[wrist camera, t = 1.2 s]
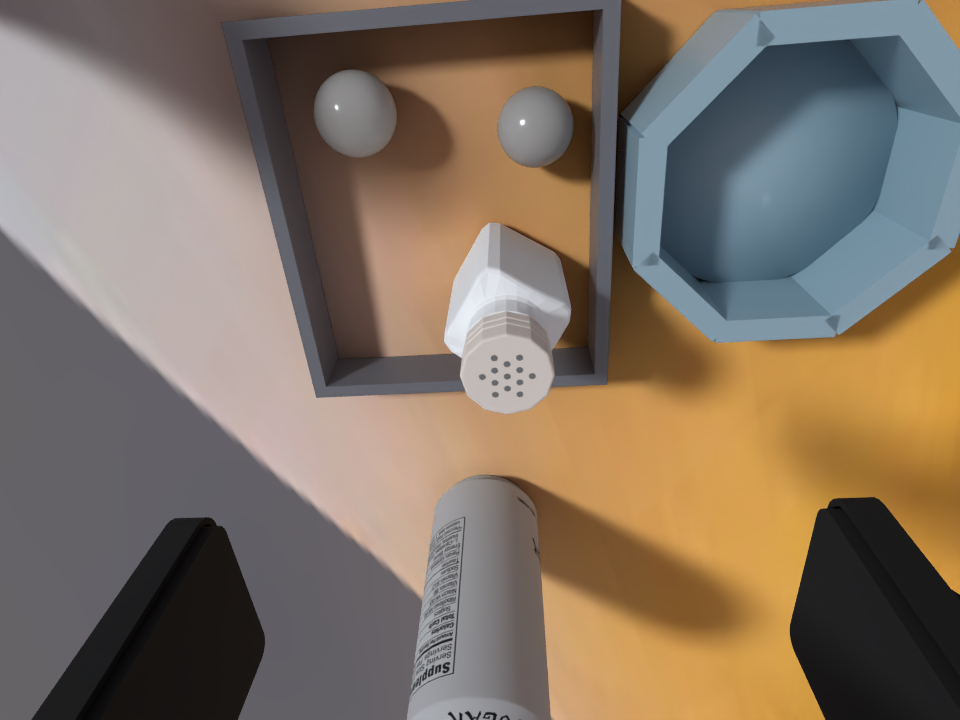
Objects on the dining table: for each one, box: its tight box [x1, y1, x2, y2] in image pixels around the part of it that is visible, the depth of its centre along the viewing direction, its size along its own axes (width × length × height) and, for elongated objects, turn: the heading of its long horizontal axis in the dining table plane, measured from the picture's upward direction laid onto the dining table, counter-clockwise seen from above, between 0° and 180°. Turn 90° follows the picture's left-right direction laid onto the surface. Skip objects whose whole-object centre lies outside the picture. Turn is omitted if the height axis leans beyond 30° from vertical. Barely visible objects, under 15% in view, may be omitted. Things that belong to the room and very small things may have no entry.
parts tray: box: [221, 0, 621, 398], centre depth 26 cm, size 16×14×3 cm
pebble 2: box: [497, 86, 574, 168], centre depth 24 cm, size 3×3×3 cm
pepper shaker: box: [444, 222, 571, 414], centre depth 25 cm, size 4×4×10 cm
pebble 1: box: [314, 70, 397, 157], centre depth 24 cm, size 3×3×3 cm
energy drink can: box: [407, 475, 551, 720], centre depth 30 cm, size 6×6×15 cm
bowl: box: [614, 0, 960, 343], centre depth 24 cm, size 12×12×4 cm
